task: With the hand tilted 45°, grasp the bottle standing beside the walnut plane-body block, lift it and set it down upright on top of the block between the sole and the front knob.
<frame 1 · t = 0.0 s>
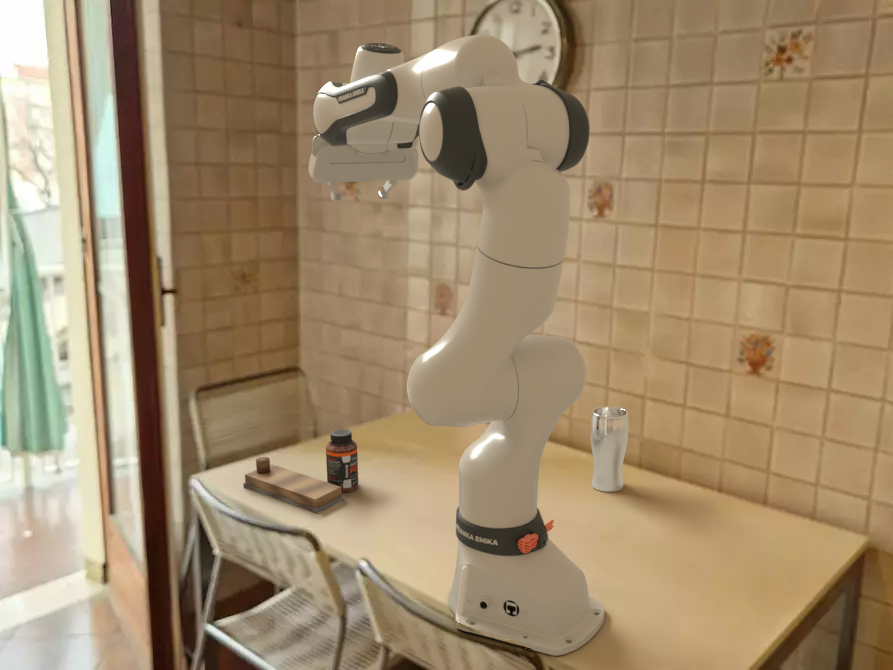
hand: (359, 198, 157), 54 cm above the table, tool tilted 30°, fingers open, 8 cm apart
beer glass: (607, 486, 159), on the table
supplement bottle: (343, 488, 160), on the table
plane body: (292, 493, 158), on the table
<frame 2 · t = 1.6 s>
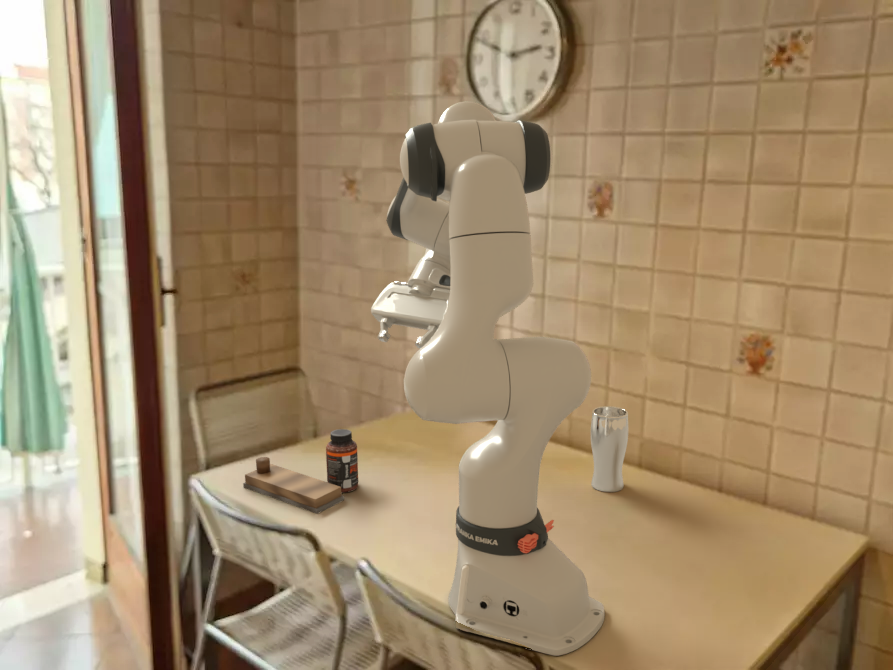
hand: (400, 343, 159), 27 cm above the table, tool tilted 45°, fingers open, 8 cm apart
nothing on the table moved.
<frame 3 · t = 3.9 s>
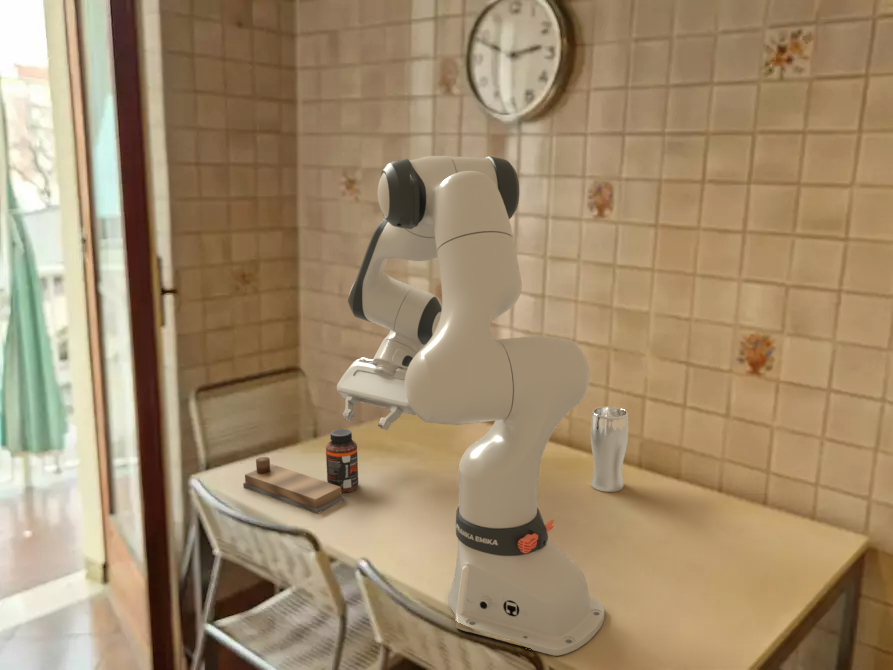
hand: (364, 423, 162), 11 cm above the table, tool tilted 45°, fingers open, 8 cm apart
nothing on the table moved.
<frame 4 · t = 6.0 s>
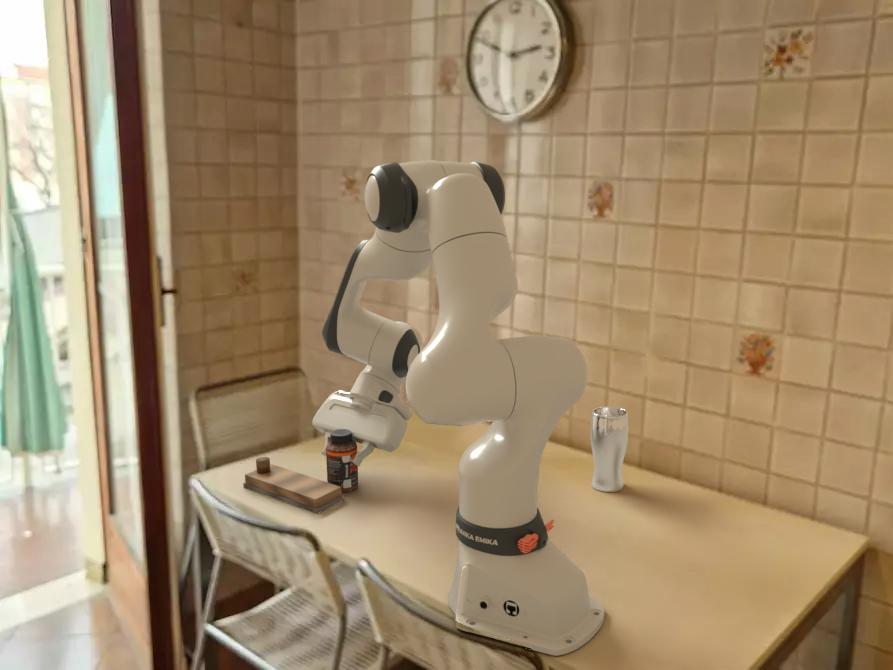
hand: (339, 460, 158), 6 cm above the table, tool tilted 45°, fingers closed on supplement bottle, 6 cm apart
supplement bottle: (343, 488, 160), on the table, touching gripper
everything else where it was.
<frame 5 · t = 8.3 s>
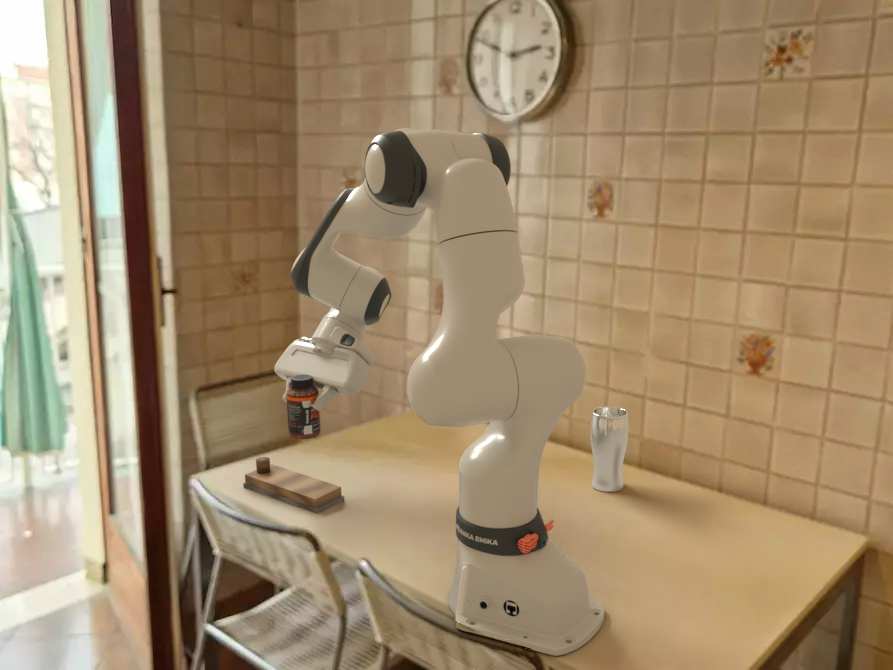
hand: (300, 405, 154), 17 cm above the table, tool tilted 45°, fingers closed on supplement bottle, 6 cm apart
supplement bottle: (304, 435, 156), point 11 cm above the table, touching gripper
everything else where it was.
when the fingers open (10 cm above the table, at t = 10.5 s): supplement bottle stays where it is, resting on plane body.
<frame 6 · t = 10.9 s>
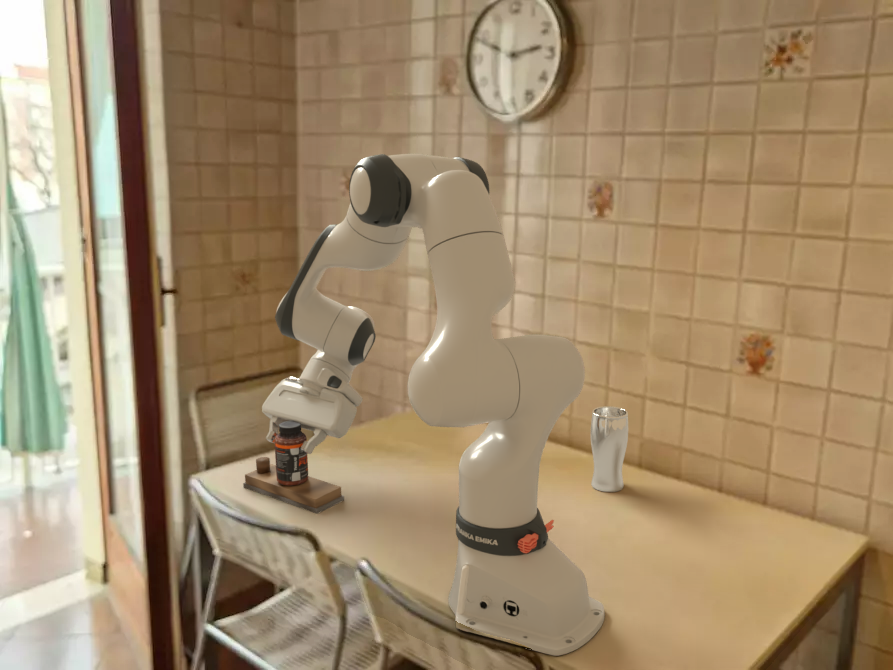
hand: (287, 446, 155), 10 cm above the table, tool tilted 45°, fingers open, 8 cm apart
supplement bottle: (292, 481, 157), point 2 cm above the table, touching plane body
everything else where it was.
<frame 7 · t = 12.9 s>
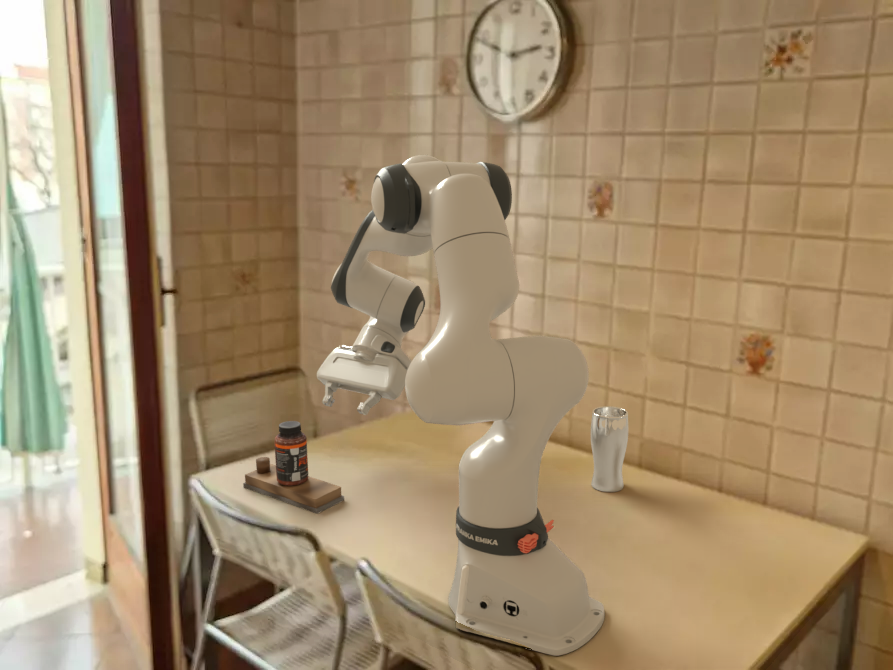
hand: (343, 408, 163), 14 cm above the table, tool tilted 45°, fingers open, 8 cm apart
nothing on the table moved.
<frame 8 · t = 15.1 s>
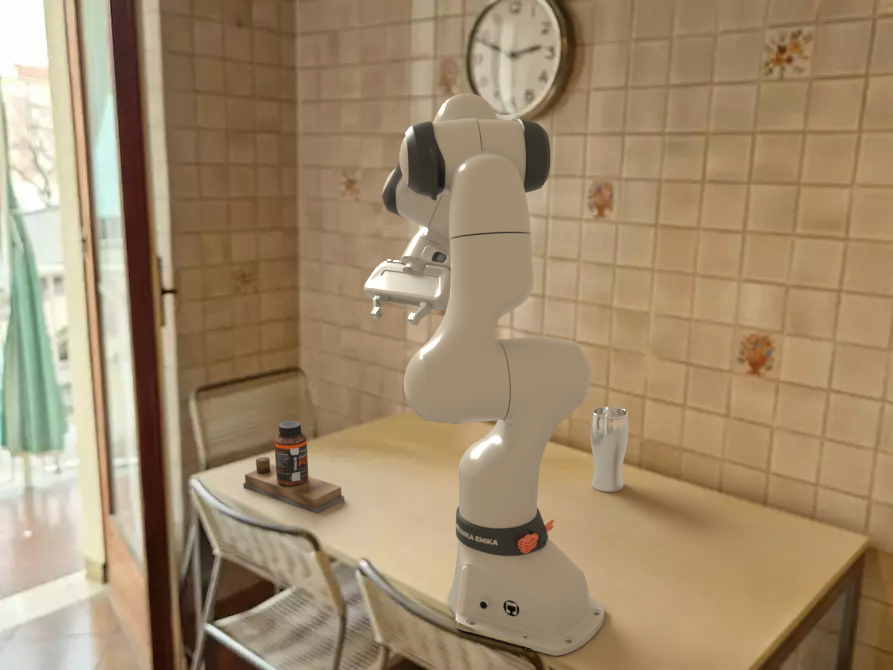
hand: (392, 320, 159), 31 cm above the table, tool tilted 45°, fingers open, 8 cm apart
nothing on the table moved.
at the end: supplement bottle inside the target area on the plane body (0.2 cm from its centre), point 2.4 cm above the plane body's base; supplement bottle tilted 0°; the gripper is holding nothing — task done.
